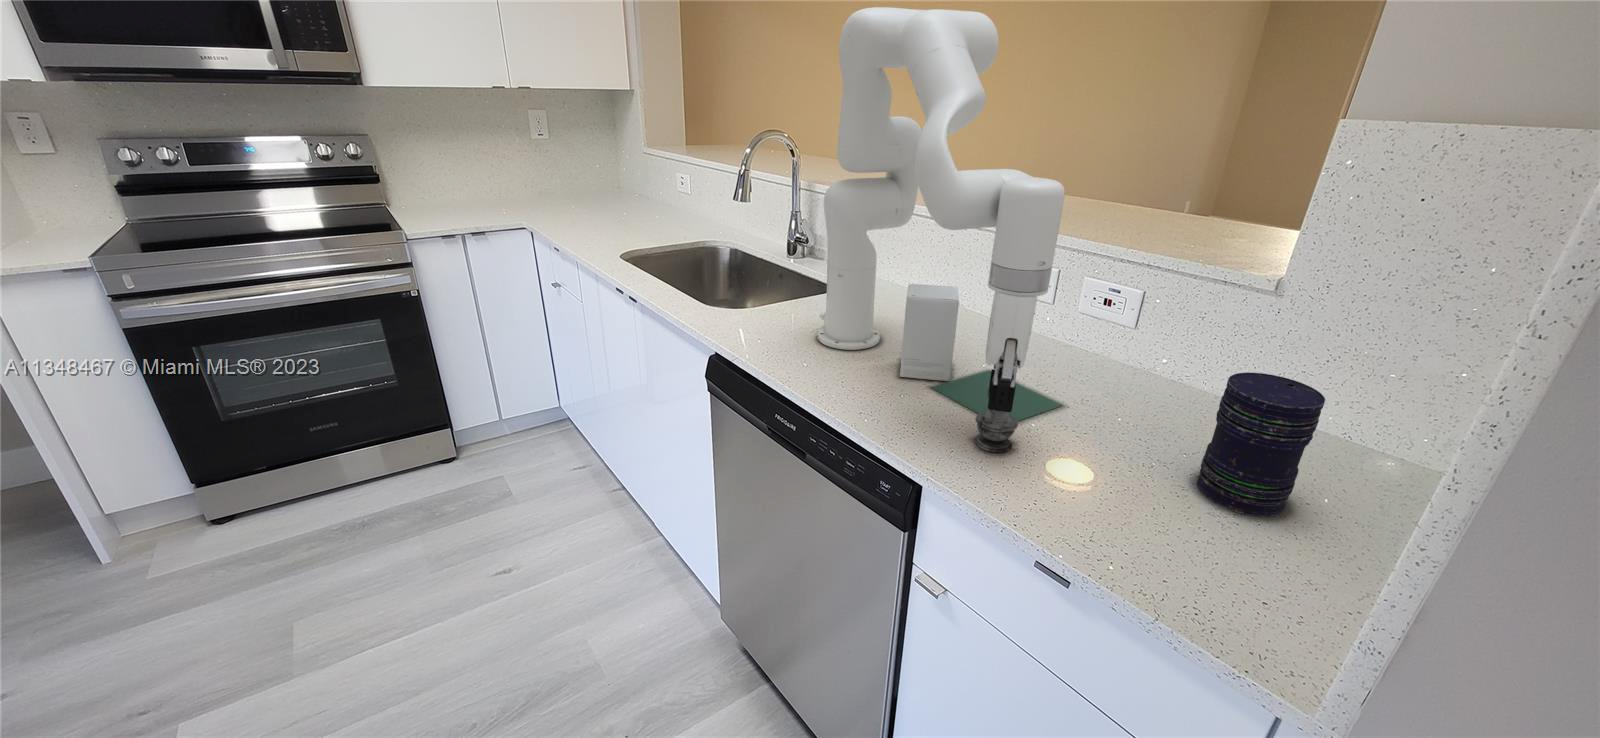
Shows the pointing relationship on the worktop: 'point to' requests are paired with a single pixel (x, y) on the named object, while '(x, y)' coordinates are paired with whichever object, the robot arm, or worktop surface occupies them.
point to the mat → (975, 398)
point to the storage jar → (1258, 443)
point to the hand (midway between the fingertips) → (999, 402)
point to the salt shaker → (995, 430)
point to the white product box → (929, 331)
